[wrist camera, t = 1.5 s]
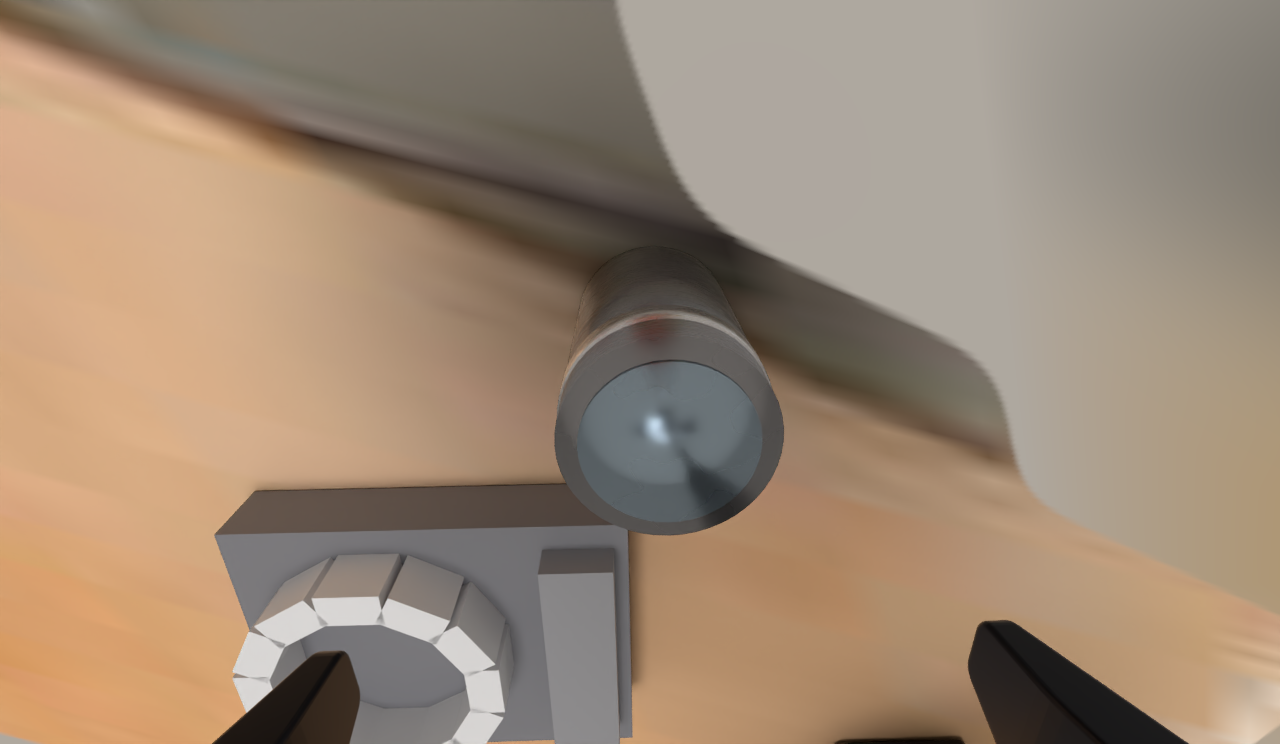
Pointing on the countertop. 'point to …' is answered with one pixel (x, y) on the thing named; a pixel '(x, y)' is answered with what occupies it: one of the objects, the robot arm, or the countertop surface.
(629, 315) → the lens
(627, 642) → the camera body
